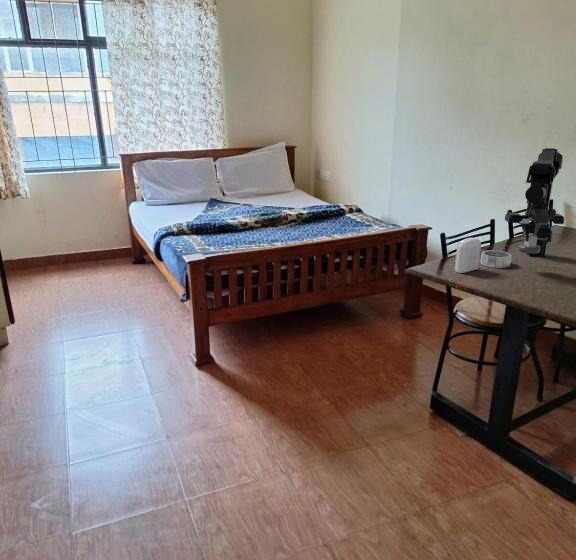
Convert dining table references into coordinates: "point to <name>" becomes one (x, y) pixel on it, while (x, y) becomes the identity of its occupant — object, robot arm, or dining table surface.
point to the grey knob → (530, 245)
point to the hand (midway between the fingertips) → (530, 241)
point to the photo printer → (467, 255)
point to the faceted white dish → (495, 259)
